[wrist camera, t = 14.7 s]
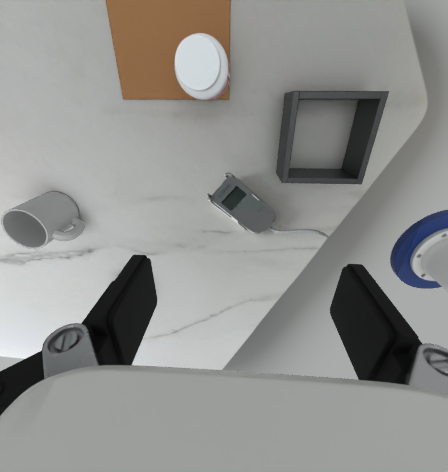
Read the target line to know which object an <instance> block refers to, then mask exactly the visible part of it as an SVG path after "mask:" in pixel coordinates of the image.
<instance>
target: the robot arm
mask: <svg viewBox="0 0 448 472" xmlns="http://www.w3.org/2000/svg"><path fill="white" fill-rule="evenodd" d="M410 266H411V269H412V270H413V272H414V273H415V274H416V275H417V276H419V277H420V278H422V279H424V280H429V281H436V282H437V283H438V284H439V285H441V286H442V287H443V288H444V289H445V290H446V291H447V292H448V228H445V229H442V230H439V231H437V232H435V233H433V234H431V235H429V236H428V237H426V238H425V239H424V240H422V241H421V242H420V243H419V244H418V245H417V247H416V248H415V249H414V251H413V253H412V255H411V258H410ZM156 305H157V295H156V289H155V284H154V278H153V272H152V266H151V260H150V259H149V258H147V257H146V255H133V256H132V257H131V259H130V260H129V261H128V263H127V264H126V266H125V267H124V268H123V270H122V271H121V273H120V274H119V275H118V277H117V278H116V279H115V281H113V282H112V283H111V284H110V285H109V286H108V288H107V289H106V291H105V292H104V293H103V295H102V296H101V297H100V299H99V300H98V302H97V303H96V304H95V306H94V307H93V308H92V310H91V311H90V313H89V314H88V315H87V317H86V318H85V319H84V321H83V322H82V323H81V324H79V323H74V324H68V325H65V326H63V327H61V328H59V329H57V330H55V331H54V332H53V333H51V334H50V335H49V336H48V338H47V339H46V340H45V342H44V344H43V347H42V351H40V352H38V353H36V354H34V355H32V356H30V357H28V358H26V359H24V360H22V361H21V362H18V363H16V364H14V365H12V366H10V367H8V368H6V369H4V370H2V371H0V472H448V350H447V349H446V348H443V347H441V346H438V345H434V344H422V343H421V342H420V340H419V339H418V336H417V335H416V333H415V332H414V331H413V329H412V328H411V327H410V325H409V324H408V323H407V322H406V320H405V319H404V318H403V317H402V315H401V314H400V313H399V311H398V310H397V309H396V307H395V306H394V305H393V304H392V302H391V301H390V300H389V298H388V297H387V296H386V294H385V293H384V292H383V291H382V289H381V288H380V287H379V285H378V284H377V283H376V281H375V280H374V279H373V278H372V276H371V275H370V274H369V272H368V271H367V270H366V269H365V267H364V266H363V265H359V264H348V265H347V266H346V267H344V268H343V269H342V272H341V276H340V279H339V282H338V285H337V288H336V291H335V294H334V298H333V301H332V304H331V307H330V313H331V316H332V319H333V321H334V323H335V326H336V328H337V330H338V333H339V335H340V337H341V340H342V342H343V344H344V347H345V349H346V351H347V354H348V356H349V358H350V360H351V363H352V365H353V367H354V370H355V372H356V374H357V376H358V379H359V380H354V379H342V378H328V377H313V376H299V375H284V374H270V373H255V372H239V371H224V370H208V369H191V368H174V367H157V366H133V365H132V362H133V360H134V358H135V355H136V353H137V350H138V348H139V346H140V343H141V341H142V339H143V336H144V334H145V331H146V329H147V327H148V324H149V322H150V319H151V317H152V315H153V312H154V310H155V308H156Z"/></svg>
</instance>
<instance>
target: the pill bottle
mask: <svg viewBox="0 0 448 472" xmlns="http://www.w3.org/2000/svg"><path fill="white" fill-rule="evenodd" d="M175 73H176V77H177V80H178V82H179V84H180V86H181V87H182V88H183V90H184V91H185V92H186V93H187V94H189V95H190V96H192V97H194V98H196V99H202V100H213V99H216V98H218V97H220V96H221V95H222V94H223V93H224V92H225V90H226V89H227V87H228V84H229V81H230V67H229V63H228V59H227V55H226V53H225V50H224V48H223V47H222V45H221V44H220V43H219V42H218V41H217V40H216V39H215V38H214V37H212V36H210V35H208V34H205V33H195V34H192V35H190V36H188V37H186V38H185V39H183V40H182V42H181V43H180V44H179V46H178V48H177V50H176V54H175Z"/></svg>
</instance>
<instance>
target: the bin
mask: <svg viewBox="0 0 448 472" xmlns="http://www.w3.org/2000/svg"><path fill="white" fill-rule="evenodd" d="M388 93H389V91H293V92H289V93H285V98H284V107H283V116H282V125H281V134H280V143H279V151H278V160H277V169H276V173H277V175H278V177H279V178H280V180H281V182H282V183H321V184H362V181H363V178H364V175H365V171H366V168H367V164H368V161H369V158H370V154H371V151H372V147H373V144H374V141H375V137H376V134H377V131H378V127H379V124H380V120H381V117H382V114H383V110H384V107H385V103H386V100H387V97H388ZM298 100H359V101H358V105H357V109H356V114H355V118H354V122H353V126H352V130H351V134H350V138H349V142H348V146H347V150H346V154H345V158H344V162H343V167H342V169H305V168H289V166H290V159H291V151H292V144H293V137H294V130H295V122H296V115H297V108H298Z"/></svg>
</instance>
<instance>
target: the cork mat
mask: <svg viewBox="0 0 448 472" xmlns="http://www.w3.org/2000/svg"><path fill="white" fill-rule="evenodd" d="M106 5H107V11H108V16H109V22H110V27H111V33H112V39H113V44H114V50H115V56H116V61H117V67H118V73H119V78H120V84H121V89H122V95H123V99H196V98H194V97H192V96H190V95H189V94H187V93H186V92H185V91H184V90H183V88H182V87H181V86H180V84H179V82H178V80H177V77H176V73H175V54H176V50H177V48H178V46H179V44H180V43H181V42H182V40H183V39H185V38H186V37H188V36H190V35H192V34H195V33H205V34H208V35H210V36H212V37H214V38H215V39H216V40H217V41H218V42H219V43H220V44H221V45H222V47H223V48H224V50H225V53H226V55H227V59H228V63H229V52H230V0H106ZM216 99H229V84H228V87H227V89H226V90H225V92H224V93H223V94H222V95H221V96H220V97H218V98H216Z"/></svg>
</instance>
